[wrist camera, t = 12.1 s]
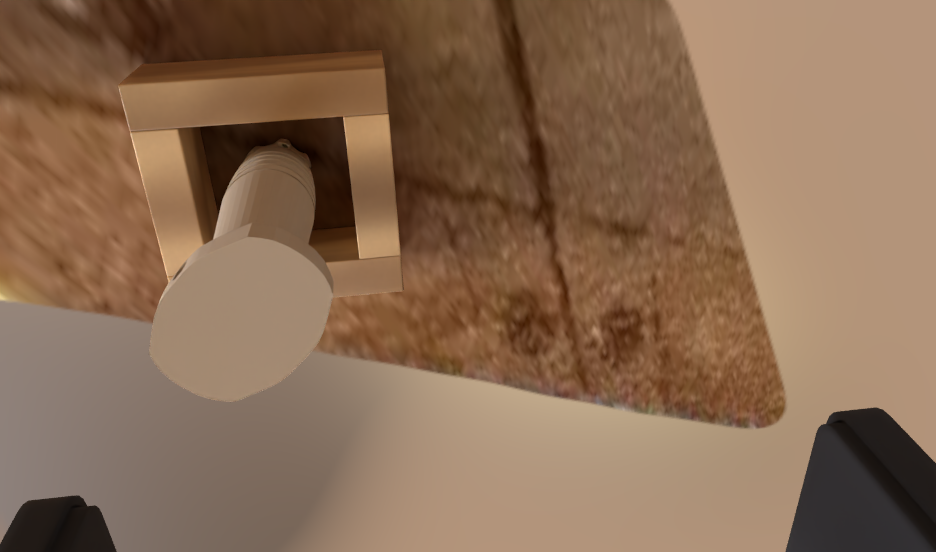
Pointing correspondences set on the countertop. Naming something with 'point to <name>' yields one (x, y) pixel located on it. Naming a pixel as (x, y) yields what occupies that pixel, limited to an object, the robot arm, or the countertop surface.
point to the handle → (248, 285)
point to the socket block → (265, 100)
